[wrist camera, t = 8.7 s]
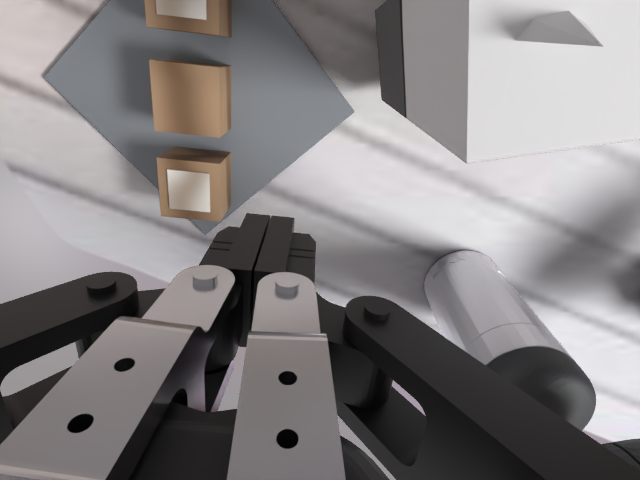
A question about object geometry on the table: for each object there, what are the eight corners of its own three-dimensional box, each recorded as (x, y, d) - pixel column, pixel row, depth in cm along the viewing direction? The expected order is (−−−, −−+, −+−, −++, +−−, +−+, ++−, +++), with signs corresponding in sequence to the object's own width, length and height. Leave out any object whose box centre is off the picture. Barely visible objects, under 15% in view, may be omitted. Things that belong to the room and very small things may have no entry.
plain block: (231, 66, 38) (219, 67, 34) (231, 128, 41) (219, 137, 36) (169, 58, 38) (149, 59, 33) (173, 122, 40) (154, 131, 36)
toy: (377, 96, 40) (496, 186, 13) (371, 14, 37) (510, -103, 10) (526, 73, 39) (999, 118, 12) (533, -14, 36) (1201, -230, 9)
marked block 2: (231, 152, 42) (219, 164, 37) (230, 204, 44) (219, 222, 40) (174, 146, 41) (155, 158, 37) (177, 199, 44) (160, 216, 39)
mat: (354, 111, 40) (354, 111, 40) (206, 232, 46) (205, 234, 46) (198, -99, 33) (196, -102, 33) (47, 77, 39) (43, 77, 39)
